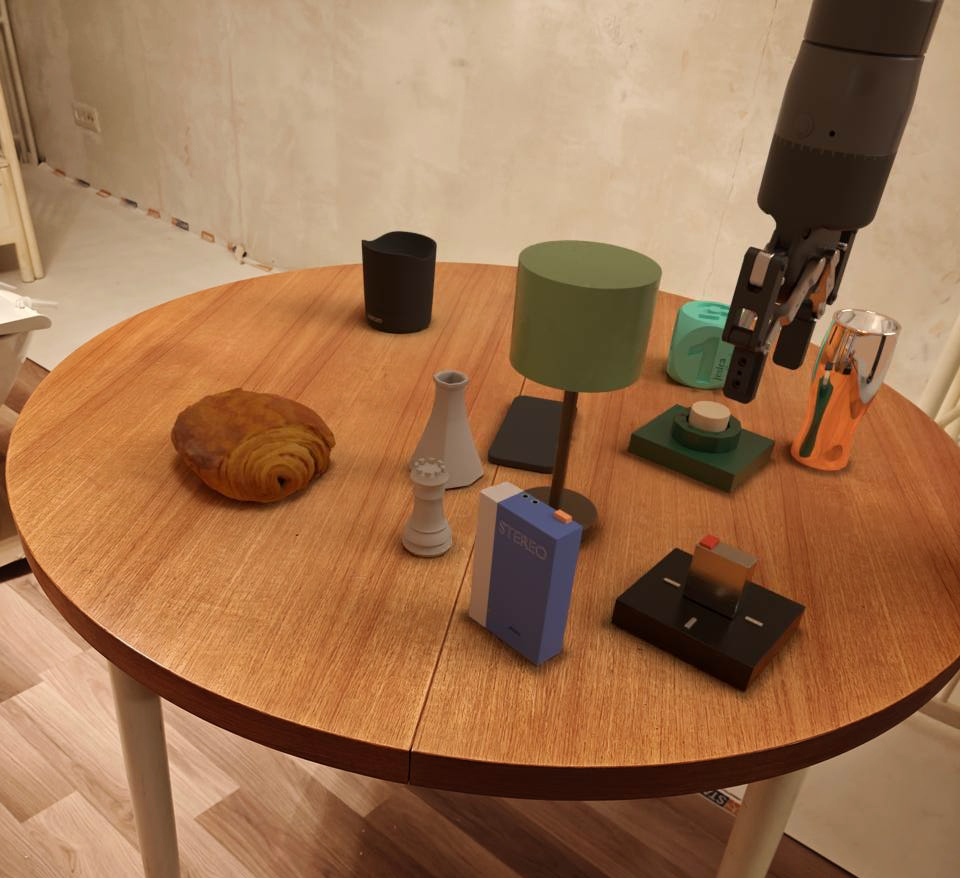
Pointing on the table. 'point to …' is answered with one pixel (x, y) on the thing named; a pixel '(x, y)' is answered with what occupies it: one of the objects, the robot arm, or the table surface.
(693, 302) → the decorative dice
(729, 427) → the switch base
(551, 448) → the phone
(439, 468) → the rook chess piece
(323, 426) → the croissant
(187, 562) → the table surface
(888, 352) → the chrome tumbler
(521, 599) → the walkman
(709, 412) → the button
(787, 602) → the panel
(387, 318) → the pen holder
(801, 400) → the table surface
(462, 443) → the flask
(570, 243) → the table lamp
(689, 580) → the dimmer knob
